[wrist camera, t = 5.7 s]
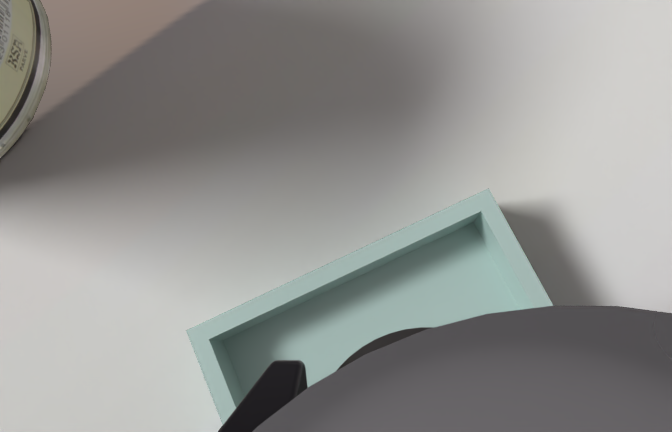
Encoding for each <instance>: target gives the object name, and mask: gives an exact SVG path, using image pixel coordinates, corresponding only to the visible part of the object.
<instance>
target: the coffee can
mask: <svg viewBox="0 0 672 432" xmlns="http://www.w3.org/2000/svg"><path fill="white" fill-rule="evenodd" d="M50 64H51V34H50V29H49V23H48V17H47V15H46V12H45V9H44V7H43V6H42V3H41V1H40V0H0V158H1V157H2V156H3V155H4V154H5V153H6V152H7V151H8V150H9V149H10V148H11V147H12V146H13V145H14V143H15V142H16V141H17V140H18V139H19V137H20V136H21V135H22V133H23V132H24V130H25V129H26V128H27V126H28V125H29V123H30V122H31V120H32V119H33V117H34V114H35V112H36V110H37V107H38V105H39V103H40V100H41V98H42V95H43V93H44V90H45V87H46V84H47V80H48V75H49V71H50Z"/></svg>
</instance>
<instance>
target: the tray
mask: <svg viewBox="0 0 672 432" xmlns="http://www.w3.org/2000/svg"><path fill="white" fill-rule="evenodd" d="M547 306H553V304H552V302H551V300H550V299H549V297H548V295H547V293H546V291H545V289H544V288H543V286H542V284H541V282H540V280H539V279H538V277H537V275H536V273H535V271H534V270H533V268H532V266H531V264H530V262H529V261H528V259H527V257H526V255H525V253H524V251H523V250H522V248H521V246H520V244H519V242H518V241H517V239H516V237H515V235H514V233H513V232H512V230H511V228H510V226H509V224H508V223H507V221H506V219H505V217H504V215H503V213H502V212H501V210H500V208H499V206H498V204H497V203H496V201H495V199H494V197H493V195H492V194H491V192H490V190H489V188H488V189H486V190H484V191H482V192H480V193H478V194H476V195H473V196H471V197H469V198H467V199H465V200H463V201H461V202H459V203H456V204H454V205H452V206H450V207H448V208H446V209H444V210H442V211H439V212H437V213H435V214H433V215H431V216H429V217H427V218H425V219H422V220H420V221H418V222H416V223H414V224H412V225H410V226H408V227H405V228H403V229H401V230H399V231H397V232H395V233H393V234H390V235H388V236H386V237H384V238H382V239H380V240H378V241H376V242H373V243H371V244H369V245H367V246H365V247H363V248H361V249H359V250H356V251H354V252H352V253H350V254H348V255H346V256H344V257H342V258H339V259H337V260H335V261H333V262H331V263H329V264H327V265H325V266H322V267H320V268H318V269H316V270H314V271H312V272H310V273H307V274H305V275H303V276H301V277H299V278H297V279H295V280H293V281H290V282H288V283H286V284H284V285H282V286H280V287H278V288H276V289H273V290H271V291H269V292H267V293H265V294H263V295H261V296H259V297H256V298H254V299H252V300H250V301H248V302H246V303H244V304H242V305H239V306H237V307H235V308H233V309H231V310H229V311H227V312H224V313H222V314H220V315H218V316H216V317H214V318H212V319H210V320H207V321H205V322H203V323H201V324H199V325H197V326H195V327H193V328H190V329H188V330H186V331H187V334H188V336H189V339H190V342H191V344H192V347H193V349H194V352H195V354H196V357H197V360H198V362H199V365H200V367H201V370H202V373H203V375H204V378H205V380H206V383H207V385H208V388H209V391H210V393H211V396H212V398H213V401H214V403H215V406H216V409H217V411H218V414H219V416H220V419H221V422H222V424H224V423H225V422H226V420H227V419H228V418H229V417H230V415H231V414H232V413H233V411H234V410H235V409H236V408H237V406H238V405H239V404H240V402H241V401H242V400H243V399H244V397H245V396H246V395H247V393H248V392H249V391H250V389H251V388H252V387H253V386H254V384H255V383H256V382H257V380H258V379H259V378H260V377H261V375H262V374H263V373H264V371H265V370H266V369H267V368H268V366H269V365H270V364H271V363H272V362H273V361H275V360H300V361H302V362H303V363H304V364H305V368H306V377H307V387H310V386H311V385H313V384H315V383H317V382H318V381H320V380H322V379H323V378H325V377H327V376H329V375H330V374H332V373H334V372H336V370H337V369H338V368H339V367H340V366H341V365H342V364H343V363H344V362H345V361H346V360H347V359H348V358H349V357H350V356H351V355H352V354H354V353H355V352H356V351H358V350H359V349H360V348H361V347H363V346H365V345H366V344H368V343H370V342H372V341H373V340H375V339H377V338H380V337H382V336H385V335H387V334H389V333H393V332H397V331H401V330H404V329H412V328H420V327H438V326H442V325H446V324H450V323H454V322H457V321H461V320H465V319H469V318H473V317H477V316H480V315H484V314H490V313H498V312H506V311H514V310H522V309H530V308H539V307H547Z"/></svg>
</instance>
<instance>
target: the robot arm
mask: <svg viewBox="0 0 672 432" xmlns="http://www.w3.org/2000/svg"><path fill="white" fill-rule="evenodd" d="M307 388H308V387H307V377H306V368H305V364H304V363H303V362H302V361H300V360H275V361H273V362H272V363H271V364H270V365H269V366H268V368H267V369H266V370H265V371H264V373H263V374H262V375H261V377H260V378H259V379H258V380H257V382H256V383H255V384H254V386H253V387H252V388H251V389H250V391H249V392H248V393H247V395H246V396H245V397H244V399H243V400H242V401H241V402H240V404H239V405H238V406H237V408H236V409H235V410H234V411H233V413H232V414H231V415H230V417H229V418H228V419H227V420H226V422H225V423H224V424H223V426H222V427H221V428H220V430H219V431H218V432H253V431H254V430H255V429H256V428H257V427H258V426H259V425H260V424H261V423H263V422H264V421H265V420H267V419H268V418H269V417H271V416H272V415H273V414H274V413H276V412H277V411H278V410H280V409H281V408H282V407H284V406H285V405H286V404H287V403H289V402H290V401H291V400H293V399H294V398H295V397H297V396H298V395H299V394H300V393H302V392H303V391H304V390H306V389H307Z"/></svg>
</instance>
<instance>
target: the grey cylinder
mask: <svg viewBox="0 0 672 432" xmlns="http://www.w3.org/2000/svg"><path fill="white" fill-rule="evenodd" d="M253 432H672V313H665V312H657V311H649V310H642V309H634V308H627V307H619V306H547V307H539V308H530V309H522V310H514V311H506V312H498V313H490V314H484V315H480V316H477V317H473V318H469V319H465V320H461V321H457V322H454V323H450V324H446V325H442V326H438V327H420V328H412V329H404V330H401V331H397V332H393V333H389V334H387V335H385V336H382V337H380V338H377V339H375V340H373V341H372V342H370V343H368V344H366V345H365V346H363V347H361V348H360V349H359V350H358V351H356V352H355V353H354V354H352V355H351V356H350V357H349V358H348V359H347V360H346V361H345V362H344V363H343V364H342V365H341V366H340V367H339V368H338V369H337V370H336V372H334V373H332V374H330V375H329V376H327V377H325V378H323V379H322V380H320V381H318V382H317V383H315V384H313V385H311V386H310V387H308V388H307V389H306V390H304V391H303V392H302V393H300V394H299V395H298V396H297V397H295V398H294V399H293V400H291V401H290V402H289V403H287V404H286V405H285V406H284V407H282V408H281V409H280V410H278V411H277V412H276V413H274V414H273V415H272V416H271V417H269V418H268V419H267V420H265V421H264V422H263V423H261V424H260V425H259V426H258V427H257V428H256V429H255V430H254V431H253Z"/></svg>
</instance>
